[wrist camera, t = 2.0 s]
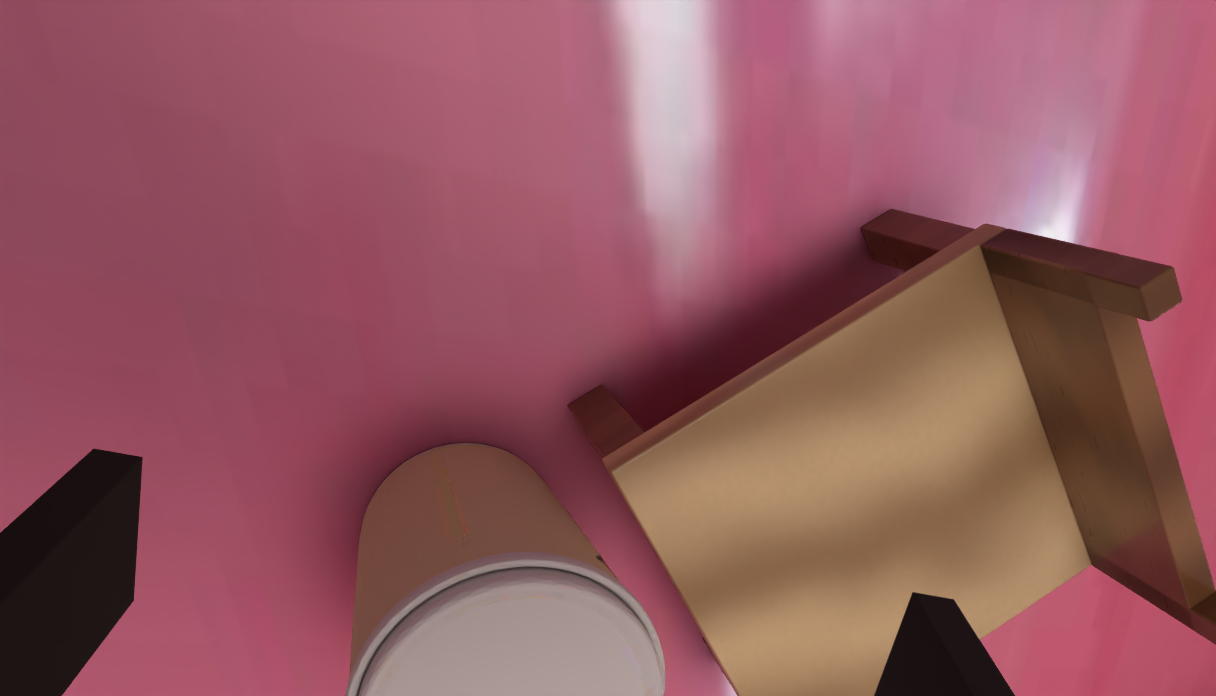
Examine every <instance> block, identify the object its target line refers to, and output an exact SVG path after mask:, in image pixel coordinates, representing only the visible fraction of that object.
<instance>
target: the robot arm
mask: <svg viewBox="0 0 1216 696" xmlns="http://www.w3.org/2000/svg"><path fill="white" fill-rule="evenodd" d="M141 473H142V457H139V456H133V455H127V454H121V453H116V452H110V451H104V450H99V449H93V450H92V451H91V452H89V453H88V454H87V455H86V456H85V457H84V458H83V459H82V460H81V461H79V462H78V463H77V464H76V465H75V466H74V467H73V468H72V469H71V470H70V471H68V472H67V473H66V474H65V475H64V476H63V477H62V478H61V479H60V480H58V481H57V482H56V483H55V484H54V485H53V486H52V487H51V488H50V489H48V490H47V491H46V492H45V493H44V494H43V495H42V496H41V497H40V498H39V499H37V500H36V501H35V502H34V503H33V504H32V505H31V506H30V507H29V508H27V509H26V510H25V511H24V512H23V513H22V514H21V515H20V516H19V517H17V518H16V519H15V520H14V521H13V522H12V523H11V524H10V525H9V526H8V527H6V528H5V529H4V530H3V531H2V532H1V533H0V696H62V695H63V693H64V692H65V691H66V689H67V688H68V687H69V685H70V684H71V683H72V681H73V680H74V679H75V677H76V676H77V675H78V673H79V672H80V671H81V669H82V668H83V667H84V666H85V664H86V663H87V662H88V660H89V659H90V658H91V656H92V655H93V654H94V652H95V651H96V650H97V648H98V647H99V646H100V644H101V643H102V642H103V640H104V639H105V638H106V636H107V635H108V634H109V632H110V631H111V630H112V628H113V627H114V626H115V624H116V623H117V622H118V621H119V619H120V618H121V617H122V615H123V614H124V613H125V611H126V610H127V609H128V607H129V606H130V605H131V603H132V602H133V601H134V586H135V570H136V554H137V538H138V522H139V506H140V490H141ZM874 696H1015V695H1014V693H1013V692H1012V690H1011V689H1010V687H1009V686H1008V684H1007V682H1006V681H1005V679H1004V678H1003V676H1002V674H1001V673H1000V671H999V670H998V668H997V667H996V665H995V663H994V662H993V660H992V659H991V657H990V656H989V654H988V652H987V651H986V649H985V648H984V646H983V644H982V643H981V641H980V640H979V638H978V637H977V635H976V633H975V632H974V630H973V629H972V627H971V625H970V624H969V622H968V621H967V619H966V618H965V616H964V614H963V613H962V611H961V610H960V608H959V607H958V605H957V603H956V602H955V600H954V599H950V598H944V597H938V596H932V595H927V594H921V593H915V592H912V595H911V597H910V600H909V603H908V606H907V608H906V611H905V614H904V616H903V619H902V622H901V624H900V627H899V630H898V632H897V635H896V638H895V640H894V643H893V646H892V649H891V651H890V654H889V657H888V659H887V662H886V665H885V667H884V670H883V673H882V675H881V678H880V681H879V683H878V686H877V689H876V692H875V694H874Z"/></svg>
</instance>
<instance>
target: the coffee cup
mask: <svg viewBox="0 0 1216 696" xmlns="http://www.w3.org/2000/svg"><path fill="white" fill-rule="evenodd" d="M664 691H665V664H664V657H663V652H662V648H661V644H660V641H659V638H658V635H657V633H656V630H655V628H654V626H653V624H652V622H651V620H650V618H649V616H648V614H647V613H646V611H645V610H644V608H643V607H642V605H641V604H640V603H639V602H638V601H637V599H636V598H635V597H634V596H633V595H632V594H631V593H630V591H629V590H628V589H627V588H625V587H624V586H623V585H622V584H621V583H620V582H619V580H618V579H617V578H616V576H615V575H614V573H613V572H612V571H611V569H610V568H609V567H608V565H607V564H606V563H605V561H604V560H603V559H602V557H601V556H600V555H599V553H598V552H597V550H596V549H595V548H594V546H593V545H592V544H591V542H590V541H589V540H588V538H587V537H586V536H585V534H584V533H583V532H582V530H581V529H580V528H579V526H578V525H577V524H576V522H575V521H574V520H573V518H572V517H571V516H570V515H569V513H568V512H567V511H566V509H565V508H564V507H563V505H562V504H561V503H560V501H559V500H558V499H557V497H556V496H555V495H554V493H553V492H552V491H551V490H550V488H549V487H548V486H547V484H546V483H545V482H544V481H543V480H542V479H541V477H540V476H539V475H538V474H537V473H536V472H535V471H534V470H533V469H532V468H531V467H530V466H529V465H528V464H527V463H525V462H524V461H523V460H521V459H520V458H518V457H517V456H515V455H513V454H511V453H509V452H507V451H504V450H502V449H499V448H496V447H492V446H488V445H484V444H474V443H457V444H449V445H444V446H440V447H435V448H433V449H430V450H428V451H425V452H422V453H420V454H418V455H416V456H414V457H412V458H411V459H409V460H407V461H405V462H404V463H403V464H401V465H400V466H399V467H398V468H396V469H395V470H394V471H393V472H392V473H391V474H390V475H389V476H388V477H387V478H386V479H385V480H384V481H383V483H382V484H381V485H380V486H379V488H378V489H377V491H376V492H375V494H374V495H373V497H372V499H371V501H370V503H369V505H368V507H367V509H366V512H365V516H364V519H363V522H362V528H361V534H360V541H359V548H358V560H357V573H356V586H355V599H354V613H353V629H352V644H351V661H350V678H349V681H348V685H347V690H346V695H345V696H664Z"/></svg>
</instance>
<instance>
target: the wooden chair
mask: <svg viewBox="0 0 1216 696" xmlns="http://www.w3.org/2000/svg"><path fill="white" fill-rule="evenodd" d="M861 230H862V232H863V235H864V237H865V240H866V242H867V245H868V247H869V250H870V252H871V255H872V257H873V260H874V261H877V262H880V263H883V264H886V265H889V266H892V267H895V268H898V269H901V270H904V271H906V272H905V273H903V274H902V275H900V276H898V277H897V278H895V279H894V280H892V281H890V282H889V283H887V284H885V285H884V286H882V287H880V288H879V289H877V290H876V291H874V292H872V293H871V294H869V295H867V296H866V297H864V298H863V299H861V300H859V301H858V302H856V303H854V304H853V305H851V306H850V307H848V308H846V309H845V310H843V311H841V312H840V313H838V314H837V315H835V316H833V317H832V318H830V319H828V320H827V321H825V322H824V323H822V324H820V325H819V326H817V327H815V328H814V329H812V330H811V331H809V332H807V333H806V334H804V335H802V336H801V337H799V338H798V339H796V340H794V341H793V342H791V343H789V344H788V345H786V346H785V347H783V348H781V349H780V350H778V351H776V352H775V353H773V354H772V355H770V356H768V357H767V358H765V359H763V360H762V361H760V362H759V363H757V364H755V365H754V366H752V367H750V368H749V369H747V370H746V371H744V372H742V373H741V374H739V375H737V376H736V377H734V378H733V379H731V380H729V381H728V382H726V383H724V384H723V385H721V386H720V387H718V388H716V389H715V390H713V391H711V392H710V393H708V394H707V395H705V396H703V397H702V398H700V399H698V400H697V401H695V402H693V403H692V404H690V405H689V406H687V407H685V408H684V409H682V410H680V411H679V412H677V413H676V414H674V415H672V416H671V417H669V418H667V419H666V420H664V421H663V422H661V423H659V424H658V425H656V426H654V427H653V428H651V429H650V430H648V431H646V432H644V431H643V430H642V428H641V427H640V426H639V425H638V424H637V423H636V422H635V421H634V420H633V418H632V417H631V416H630V415H629V414H628V413H627V412H626V411H625V410H624V408H623V407H622V406H621V405H620V404H619V403H618V402H617V401H616V399H615V398H614V397H613V396H612V395H611V394H610V393H609V392H608V391H607V389H606V388H605V387H604V386H603V385H600V386H599V387H597V388H595V389H594V390H592V391H590V392H589V393H587V394H585V395H584V396H582V397H580V398H579V399H577V400H575V401H574V402H572V403H570V404H569V405H568V407H569V409H570V410H571V412H572V414H573V415H574V417H575V419H576V421H577V422H578V424H579V426H580V428H581V429H582V431H583V433H584V434H585V436H586V438H587V439H588V440H589V442H590V443H591V444H592V446H593V447H594V449H595V450H596V451H597V453H598V454H599V455H600V457H601V458H602V462H603V464H604V466H605V467H606V469H607V471H608V472H609V474H610V476H611V478H612V479H613V481H614V483H615V485H616V486H617V488H618V490H619V491H620V493H621V495H622V497H623V498H624V500H625V502H626V504H627V505H628V507H629V509H630V511H631V512H632V514H633V516H634V517H635V519H636V521H637V523H638V524H639V526H640V528H641V530H642V531H643V533H644V535H645V537H646V538H647V540H648V542H649V543H650V545H651V547H652V549H653V550H654V552H655V554H656V556H657V557H658V559H659V561H660V562H661V564H662V566H663V568H664V569H665V571H666V573H667V575H668V576H669V578H670V580H671V582H672V583H673V585H674V587H675V588H676V590H677V592H678V594H679V595H680V597H681V599H682V601H683V602H684V604H685V606H686V608H687V609H688V611H689V613H690V614H691V616H692V618H693V620H694V621H695V623H696V625H697V627H698V628H699V630H700V632H701V633H702V635H703V640H704V642H705V644H706V645H707V647H708V649H709V651H710V652H711V654H712V656H713V657H714V659H715V661H716V663H717V664H718V666H719V667H720V669H721V670H722V672H723V673H724V675H725V676H726V678H727V679H728V681H729V682H730V684H731V685H732V687H733V689H734V691H735V692H736V694H737V696H874V694H875V692H876V689H877V686H878V683H879V681H880V678H881V675H882V673H883V670H884V667H885V665H886V662H887V659H888V657H889V654H890V651H891V649H892V646H893V643H894V640H895V638H896V635H897V632H898V630H899V627H900V624H901V622H902V619H903V616H904V614H905V611H906V608H907V606H908V603H909V600H910V597H911V595H912V592H915V593H921V594H927V595H932V596H938V597H944V598H950V599H954V600H955V602H956V603H957V605H958V607H959V608H960V610H961V611H962V613H963V614H964V616H965V618H966V619H967V621H968V622H969V624H970V625H971V627H972V629H973V630H974V632H975V633H976V635H977V637H978V638H979V640H980V639H982V638H983V637H985V636H986V635H988V634H989V633H991V632H992V631H994V630H995V629H996V628H998V627H999V626H1001V625H1002V624H1004V623H1005V622H1007V621H1008V620H1010V619H1011V618H1013V617H1014V616H1016V615H1017V614H1019V613H1020V612H1022V611H1023V610H1025V609H1026V608H1028V607H1029V606H1031V605H1032V604H1034V603H1035V602H1037V601H1038V600H1040V599H1041V598H1043V597H1044V596H1046V595H1047V594H1049V593H1050V592H1052V591H1053V590H1054V589H1056V588H1057V587H1059V586H1060V585H1062V584H1063V583H1065V582H1066V581H1068V580H1069V579H1071V578H1072V577H1074V576H1075V575H1077V574H1078V573H1080V572H1081V571H1083V570H1084V569H1086V568H1087V567H1089V566H1090V565H1093V566H1094V567H1096V568H1097V569H1099V570H1100V571H1102V572H1103V573H1105V574H1106V575H1108V576H1110V577H1111V578H1113V579H1114V580H1116V581H1117V582H1119V583H1120V584H1122V585H1124V586H1125V587H1127V588H1128V589H1130V590H1131V591H1133V592H1135V593H1136V594H1138V595H1139V596H1141V597H1142V598H1144V599H1145V600H1147V601H1149V602H1150V603H1152V604H1153V605H1155V606H1156V607H1158V608H1159V609H1161V610H1163V611H1164V612H1166V613H1167V614H1169V615H1170V616H1172V617H1174V618H1175V619H1177V620H1178V621H1180V622H1181V623H1183V624H1184V625H1186V626H1188V627H1189V628H1191V629H1192V630H1194V631H1195V632H1197V633H1199V634H1200V635H1202V636H1203V637H1205V638H1206V639H1208V640H1209V641H1211V642H1213V643H1214V644H1216V590H1215V586H1214V583H1213V580H1212V576H1211V573H1210V569H1209V566H1208V562H1207V559H1206V555H1205V552H1204V549H1203V545H1202V542H1201V538H1200V535H1199V531H1198V528H1197V524H1196V521H1195V517H1194V514H1193V511H1192V507H1191V504H1190V500H1189V497H1188V493H1187V490H1186V486H1185V483H1184V479H1183V476H1182V473H1181V469H1180V466H1179V462H1178V459H1177V455H1176V452H1175V448H1174V445H1173V442H1172V438H1171V435H1170V431H1169V428H1168V424H1167V421H1166V417H1165V414H1164V410H1163V407H1162V404H1161V400H1160V397H1159V393H1158V390H1157V386H1156V383H1155V379H1154V376H1153V372H1152V369H1151V366H1150V362H1149V359H1148V355H1147V352H1146V348H1145V345H1144V341H1143V338H1142V335H1141V331H1140V328H1139V324H1138V321H1137V318H1139V319H1142V320H1146V321H1153V320H1154V319H1156V318H1157V317H1159V316H1160V315H1162V314H1164V313H1165V312H1167V311H1168V310H1170V309H1171V308H1173V307H1174V306H1176V305H1178V304H1179V303H1181V301H1182V297H1181V293H1180V289H1179V286H1178V282H1177V278H1176V274H1175V271H1174V268H1173V267H1172V266H1168V265H1164V264H1159V263H1155V262H1151V261H1146V260H1142V259H1138V258H1133V257H1129V256H1125V255H1120V254H1117V253H1113V252H1108V251H1104V250H1100V249H1095V248H1091V247H1086V246H1082V245H1078V244H1073V243H1069V242H1065V241H1060V240H1056V239H1052V238H1047V237H1043V236H1038V235H1034V234H1030V233H1025V232H1021V231H1017V230H1012V229H1006V228H1003V227H999V226H994V225H990V224H983V225H981V226H980V227H978V228H976V229H973V228H969V227H964V226H960V225H956V224H952V223H948V222H944V221H940V220H935V219H931V218H927V217H923V216H919V215H915V214H911V213H906V212H902V211H898V210H894V209H891V210H890V211H888V212H886V213H885V214H883V215H881V216H880V217H878V218H876V219H875V220H873V221H871V222H870V223H868V224H866V225H865V226H863V227H862V228H861Z"/></svg>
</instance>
